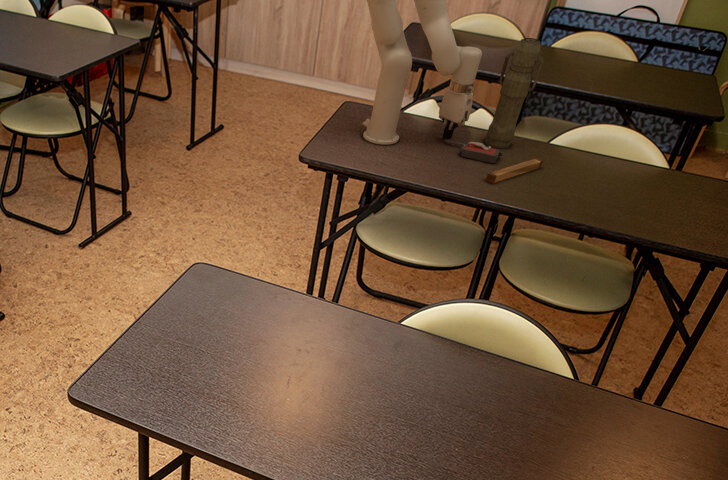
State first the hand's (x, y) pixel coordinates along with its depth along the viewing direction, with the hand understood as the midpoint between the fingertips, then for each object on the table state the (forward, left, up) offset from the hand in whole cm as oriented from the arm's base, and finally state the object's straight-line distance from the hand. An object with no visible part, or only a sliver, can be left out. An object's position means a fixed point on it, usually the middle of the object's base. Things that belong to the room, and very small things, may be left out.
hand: (446, 138), depth 245 cm
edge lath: (+30, 0, -1) cm, 30 cm away
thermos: (+10, +16, -2) cm, 19 cm away
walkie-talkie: (+11, 0, -2) cm, 11 cm away
